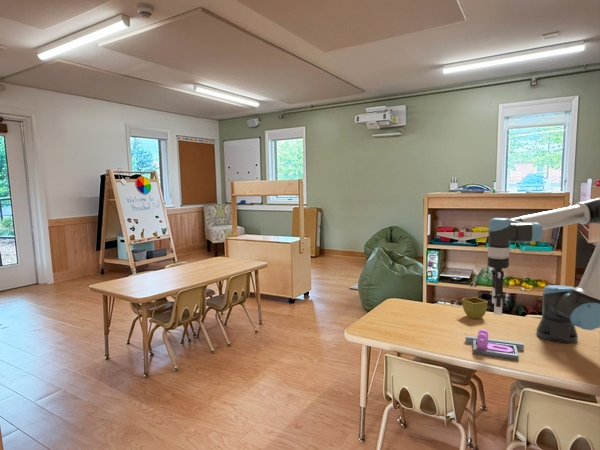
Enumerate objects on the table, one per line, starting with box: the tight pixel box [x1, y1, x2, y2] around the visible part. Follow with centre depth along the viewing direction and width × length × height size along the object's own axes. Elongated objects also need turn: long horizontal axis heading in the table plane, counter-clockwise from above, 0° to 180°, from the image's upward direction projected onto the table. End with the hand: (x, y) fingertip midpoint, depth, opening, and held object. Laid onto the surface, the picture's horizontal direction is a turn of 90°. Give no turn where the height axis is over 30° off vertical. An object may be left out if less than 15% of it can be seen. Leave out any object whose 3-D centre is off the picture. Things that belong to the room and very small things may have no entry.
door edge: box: [465, 335, 525, 351], centre depth 162 cm, size 22×2×2 cm, turn 66°
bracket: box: [476, 329, 513, 354], centre depth 156 cm, size 13×6×7 cm, turn 61°
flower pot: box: [461, 296, 489, 320], centre depth 194 cm, size 9×9×9 cm
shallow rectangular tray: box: [472, 340, 520, 362], centre depth 156 cm, size 16×10×2 cm, turn 67°
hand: (496, 308), depth 154 cm, fingers open, 13 cm apart
